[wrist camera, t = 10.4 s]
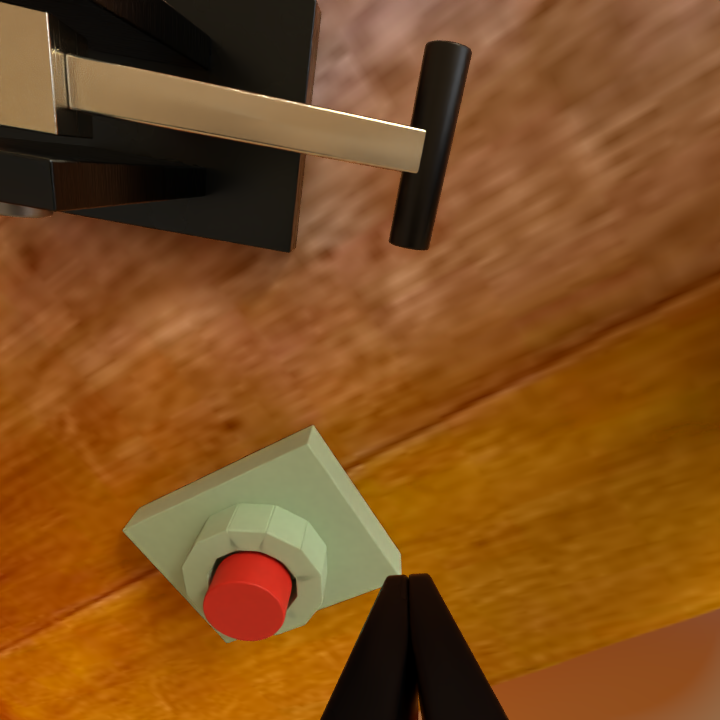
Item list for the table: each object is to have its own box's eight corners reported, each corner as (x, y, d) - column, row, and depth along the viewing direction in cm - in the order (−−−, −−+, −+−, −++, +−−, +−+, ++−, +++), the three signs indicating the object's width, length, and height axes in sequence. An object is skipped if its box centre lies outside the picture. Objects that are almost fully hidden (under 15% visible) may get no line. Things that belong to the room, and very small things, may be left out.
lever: (451, 61, 13) (492, 43, 10) (414, 241, 14) (442, 256, 12) (-65, -73, 10) (-156, -138, 7) (-26, 178, 11) (-90, 184, 9)
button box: (313, 423, 21) (300, 468, 18) (401, 553, 24) (403, 612, 21) (138, 507, 24) (99, 559, 21) (236, 616, 27) (215, 677, 23)
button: (264, 539, 20) (253, 571, 18) (306, 592, 21) (300, 627, 20) (201, 566, 21) (185, 598, 19) (245, 616, 22) (233, 650, 20)
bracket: (321, 11, 15) (236, -203, 7) (295, 248, 18) (214, 311, 10) (0, -48, 15) (-511, -343, 7) (27, 200, 18) (-296, 222, 10)
